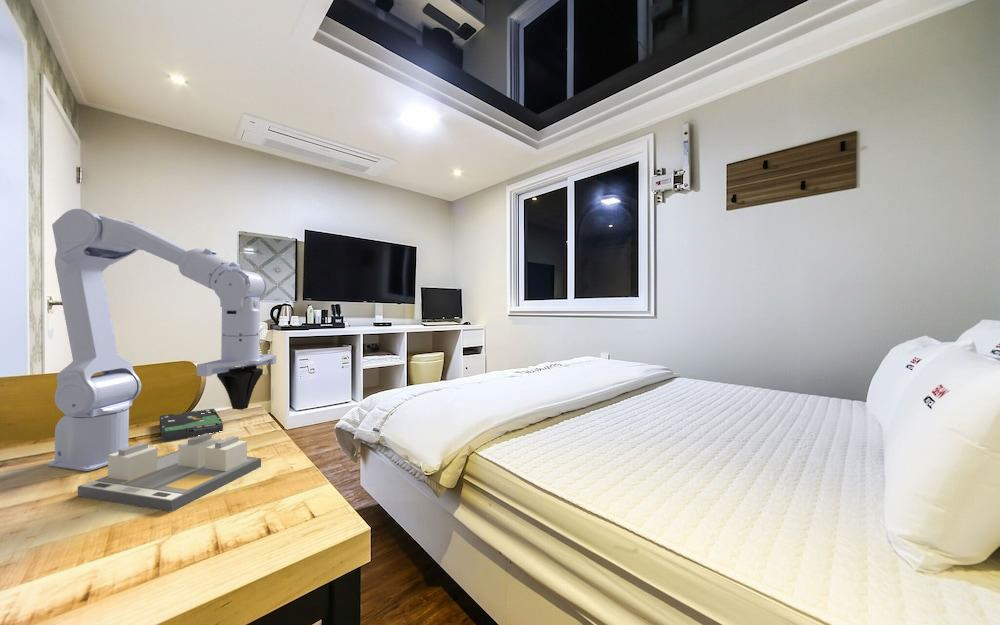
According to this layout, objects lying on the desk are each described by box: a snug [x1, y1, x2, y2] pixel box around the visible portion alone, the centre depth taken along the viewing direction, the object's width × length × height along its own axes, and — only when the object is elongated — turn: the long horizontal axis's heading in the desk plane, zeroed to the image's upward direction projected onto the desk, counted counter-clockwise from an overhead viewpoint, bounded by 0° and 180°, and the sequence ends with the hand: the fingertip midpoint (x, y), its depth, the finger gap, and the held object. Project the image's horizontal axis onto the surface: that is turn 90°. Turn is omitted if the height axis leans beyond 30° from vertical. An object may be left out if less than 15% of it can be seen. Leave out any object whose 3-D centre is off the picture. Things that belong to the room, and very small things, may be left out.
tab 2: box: [177, 433, 222, 468], centre depth 63 cm, size 4×4×4 cm
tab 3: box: [205, 435, 248, 471], centre depth 62 cm, size 4×4×4 cm
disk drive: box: [159, 408, 224, 443], centre depth 84 cm, size 10×3×15 cm
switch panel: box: [77, 450, 262, 513], centre depth 60 cm, size 17×15×2 cm
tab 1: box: [107, 442, 159, 481], centre depth 58 cm, size 4×4×4 cm
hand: (240, 408), depth 68 cm, fingers closed
